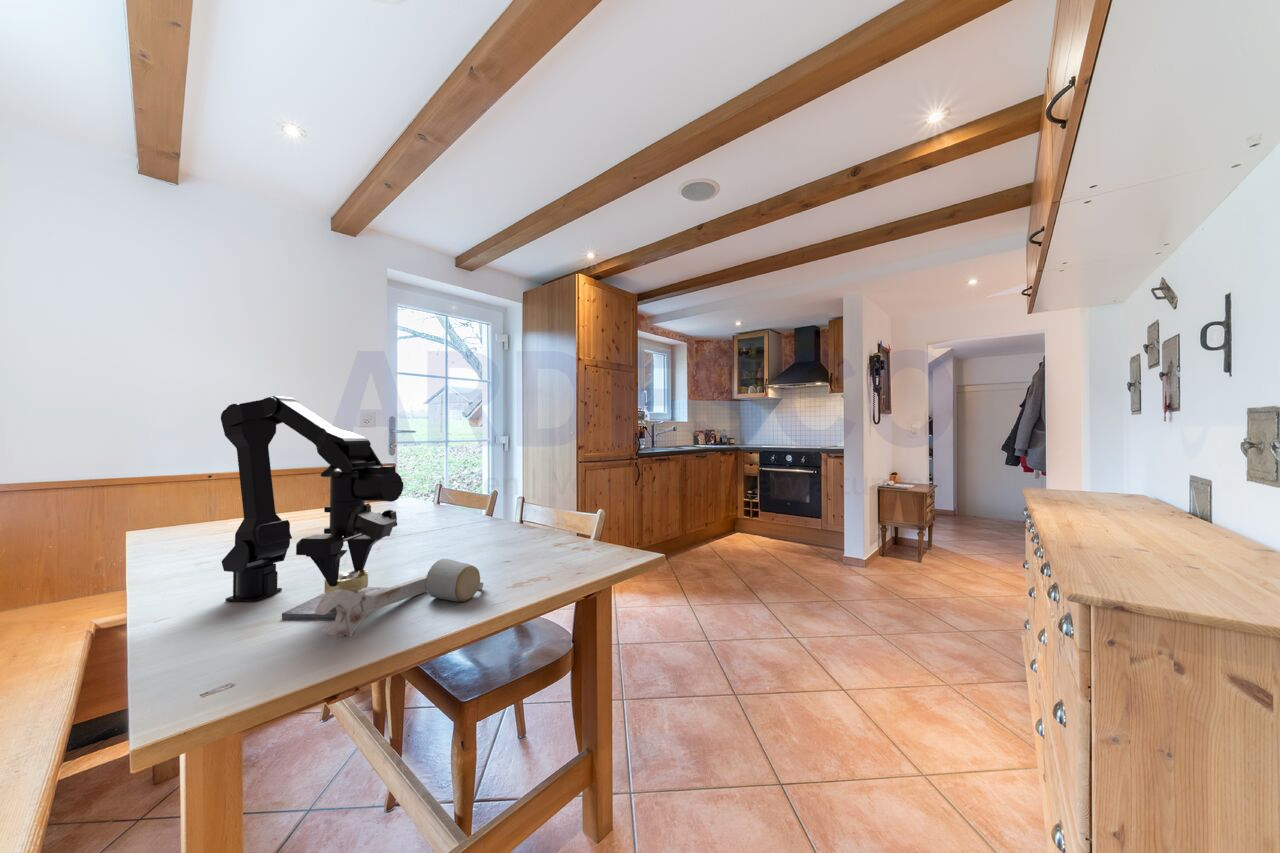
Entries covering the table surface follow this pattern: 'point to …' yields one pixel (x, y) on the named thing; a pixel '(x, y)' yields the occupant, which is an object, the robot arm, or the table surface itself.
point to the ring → (350, 582)
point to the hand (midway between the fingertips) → (346, 579)
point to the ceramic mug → (453, 580)
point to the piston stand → (310, 606)
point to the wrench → (363, 605)
